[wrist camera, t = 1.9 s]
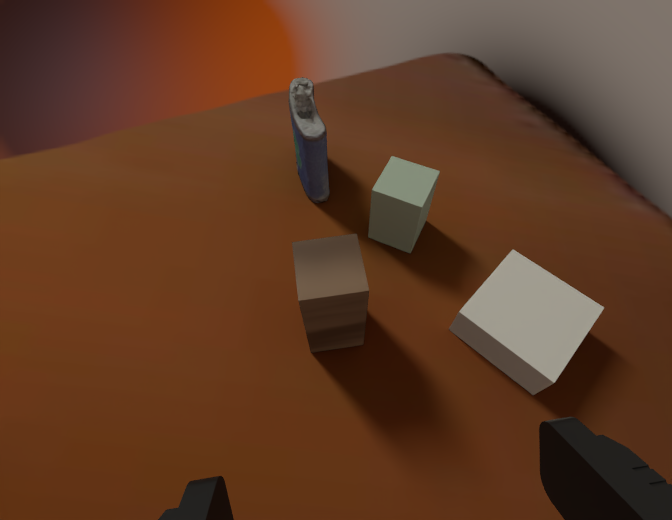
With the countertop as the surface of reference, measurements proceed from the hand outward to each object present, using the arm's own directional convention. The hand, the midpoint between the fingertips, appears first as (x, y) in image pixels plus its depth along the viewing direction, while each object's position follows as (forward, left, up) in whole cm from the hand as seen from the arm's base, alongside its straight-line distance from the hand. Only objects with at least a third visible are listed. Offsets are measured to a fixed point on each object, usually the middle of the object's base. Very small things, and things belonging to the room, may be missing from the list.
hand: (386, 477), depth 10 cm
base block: (+18, -2, -21) cm, 28 cm away
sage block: (+20, +12, -21) cm, 31 cm away
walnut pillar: (+8, +10, -21) cm, 24 cm away
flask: (+20, +24, -21) cm, 38 cm away
